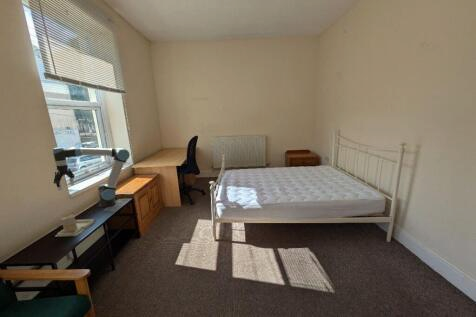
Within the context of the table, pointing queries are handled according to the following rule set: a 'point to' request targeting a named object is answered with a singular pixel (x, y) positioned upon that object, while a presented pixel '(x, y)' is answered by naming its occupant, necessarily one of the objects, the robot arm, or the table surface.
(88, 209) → the table surface
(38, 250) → the table surface
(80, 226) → the keyhole tray
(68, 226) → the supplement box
